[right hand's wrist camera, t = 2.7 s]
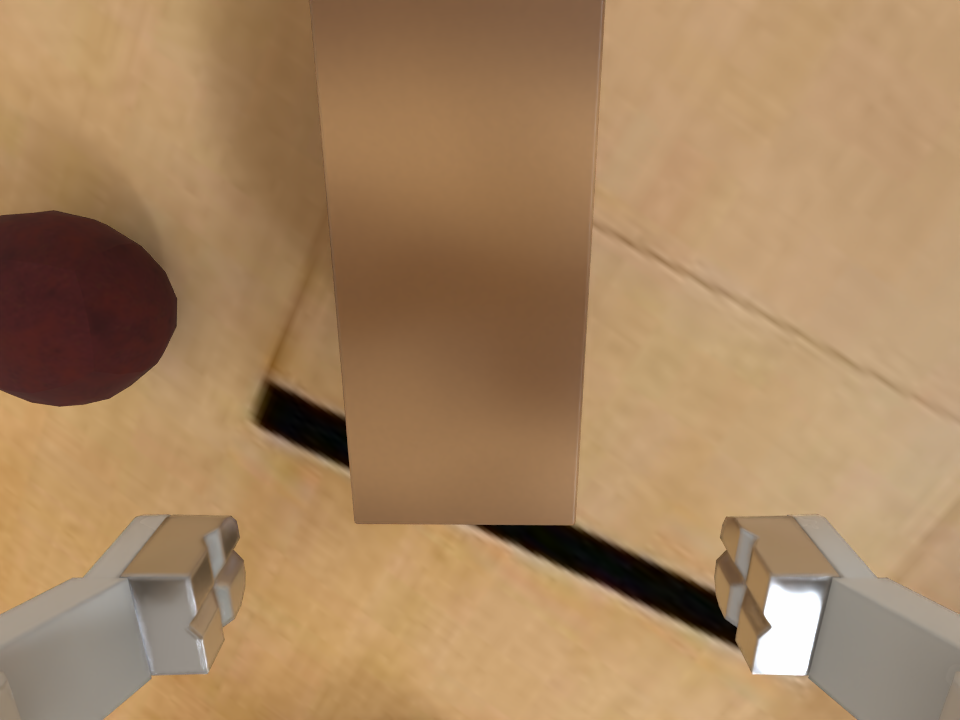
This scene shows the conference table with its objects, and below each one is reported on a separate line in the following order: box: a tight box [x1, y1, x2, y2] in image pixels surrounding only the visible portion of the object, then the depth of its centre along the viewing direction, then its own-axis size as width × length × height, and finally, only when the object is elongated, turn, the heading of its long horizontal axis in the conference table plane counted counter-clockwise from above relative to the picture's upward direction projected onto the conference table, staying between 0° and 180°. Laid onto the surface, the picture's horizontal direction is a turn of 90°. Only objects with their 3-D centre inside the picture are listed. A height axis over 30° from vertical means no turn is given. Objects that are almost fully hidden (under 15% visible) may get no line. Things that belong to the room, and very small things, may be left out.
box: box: [309, 0, 605, 525], centre depth 19 cm, size 24×6×11 cm, turn 0°
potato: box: [0, 211, 177, 407], centre depth 24 cm, size 7×8×7 cm
